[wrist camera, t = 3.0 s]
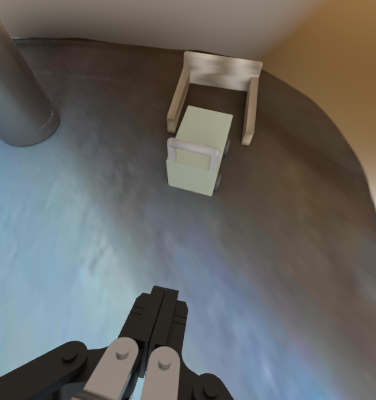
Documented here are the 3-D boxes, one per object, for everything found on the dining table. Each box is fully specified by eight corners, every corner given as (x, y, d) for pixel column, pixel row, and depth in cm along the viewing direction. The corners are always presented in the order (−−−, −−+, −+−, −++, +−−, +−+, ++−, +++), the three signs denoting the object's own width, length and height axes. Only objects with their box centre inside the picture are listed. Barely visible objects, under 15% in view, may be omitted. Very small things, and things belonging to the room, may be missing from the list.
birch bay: (167, 131, 37) (165, 106, 33) (184, 78, 43) (185, 51, 39) (248, 145, 36) (258, 121, 32) (254, 88, 43) (262, 62, 38)
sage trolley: (164, 185, 33) (158, 139, 24) (183, 134, 37) (184, 81, 29) (215, 198, 32) (228, 156, 23) (228, 145, 36) (243, 93, 28)
